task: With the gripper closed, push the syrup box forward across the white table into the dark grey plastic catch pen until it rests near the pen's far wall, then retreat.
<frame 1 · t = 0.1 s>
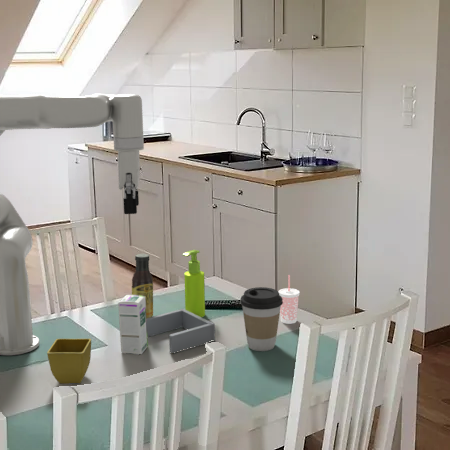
hand: (131, 209, 189), 37 cm above the table, tool pointing down, fingers open, 9 cm apart
beverage cup: (288, 321, 213), on the table
catch pen: (178, 338, 200), on the table
soap dispenser: (194, 316, 218), on the table
syrup box: (134, 350, 193), on the table
coffee cup: (261, 346, 195), on the table
sauce bottle: (143, 321, 214), on the table
flower pot: (71, 380, 176), on the table
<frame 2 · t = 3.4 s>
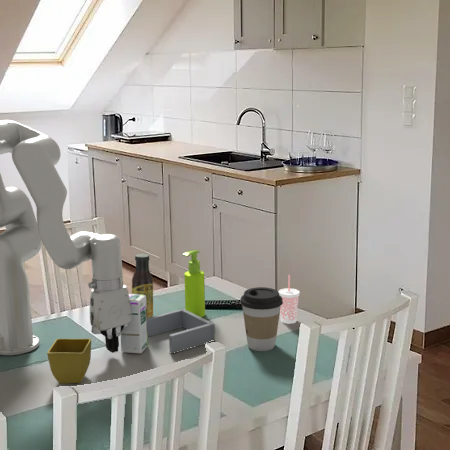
hand: (112, 350, 189), 2 cm above the table, tool pointing down, fingers closed
nothing on the table moved.
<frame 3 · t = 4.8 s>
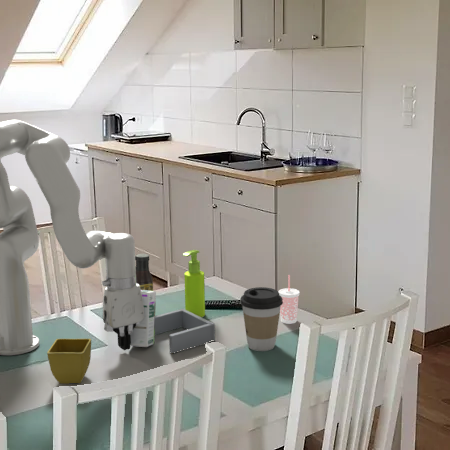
hand: (124, 347, 191), 1 cm above the table, tool pointing down, fingers closed
syrup box: (140, 345, 195), on the table, touching gripper
everything else where it was.
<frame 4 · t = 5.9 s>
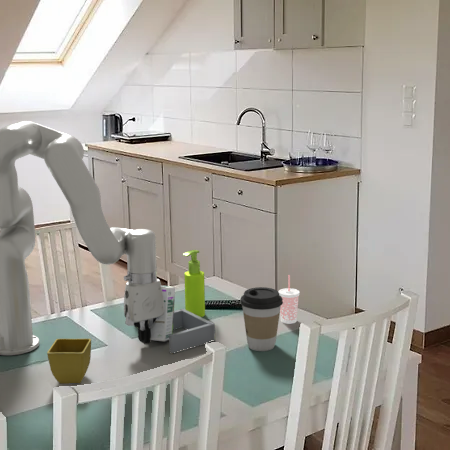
hand: (144, 341, 195), 1 cm above the table, tool pointing down, fingers closed
syrup box: (158, 340, 198), point 1 cm above the table, touching gripper
everything else where it was.
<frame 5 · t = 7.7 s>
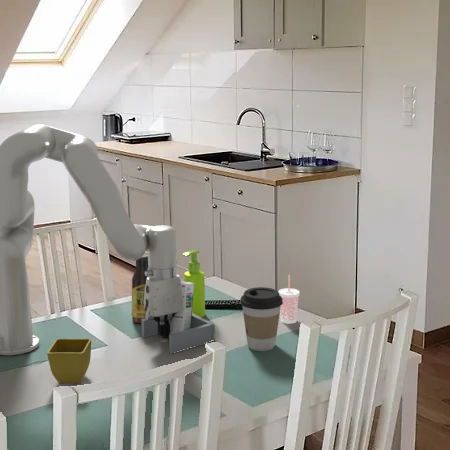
hand: (164, 336, 198), 1 cm above the table, tool pointing down, fingers closed
syrup box: (177, 334, 202), point 1 cm above the table, touching gripper
everything else where it was.
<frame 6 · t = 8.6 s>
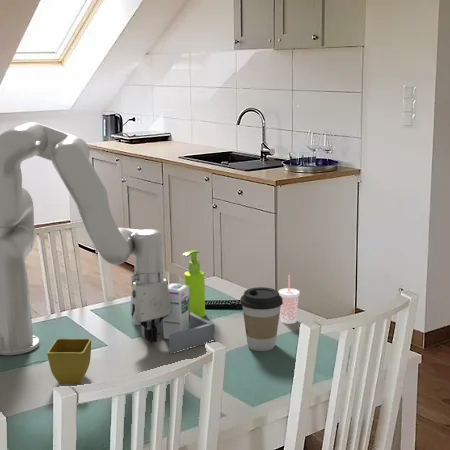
hand: (151, 341, 196), 1 cm above the table, tool pointing down, fingers closed
syrup box: (176, 337, 202), resting in catch pen
everything else where it was.
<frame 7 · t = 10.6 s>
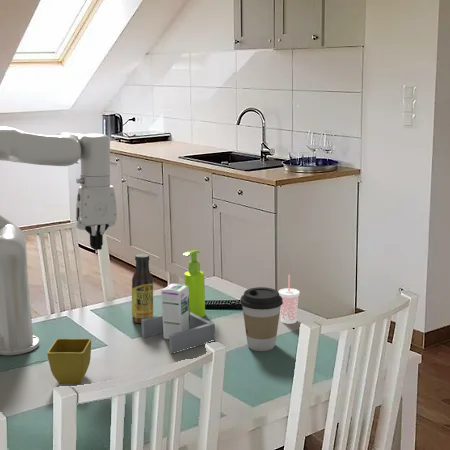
hand: (96, 248, 196), 26 cm above the table, tool pointing down, fingers closed
nothing on the table moved.
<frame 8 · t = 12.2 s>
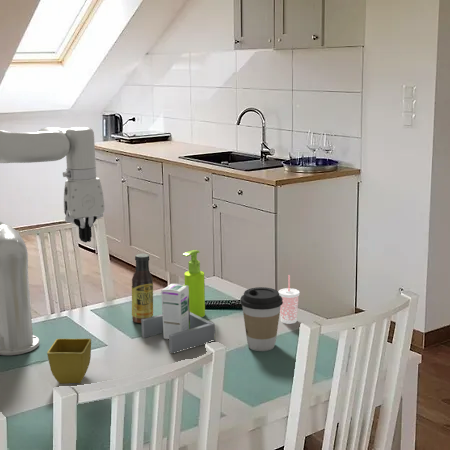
hand: (85, 240, 198), 27 cm above the table, tool pointing down, fingers closed
nothing on the table moved.
at the end: syrup box inside the target area (1.5 cm from its centre), resting in catch pen; syrup box moved 13.8 cm from its start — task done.
